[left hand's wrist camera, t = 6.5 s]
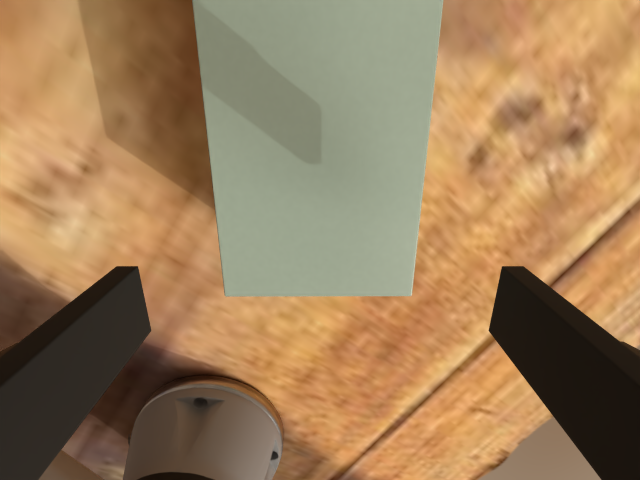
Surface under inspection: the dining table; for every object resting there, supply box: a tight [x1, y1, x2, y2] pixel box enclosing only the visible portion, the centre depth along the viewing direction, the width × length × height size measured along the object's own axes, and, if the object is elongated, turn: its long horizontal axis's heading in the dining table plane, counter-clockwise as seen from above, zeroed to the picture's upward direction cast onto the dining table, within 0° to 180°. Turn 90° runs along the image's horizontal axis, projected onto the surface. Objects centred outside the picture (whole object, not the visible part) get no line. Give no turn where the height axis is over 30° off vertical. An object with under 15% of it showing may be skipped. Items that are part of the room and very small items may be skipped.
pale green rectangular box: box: [192, 0, 443, 296], centre depth 21 cm, size 19×11×10 cm, turn 0°
